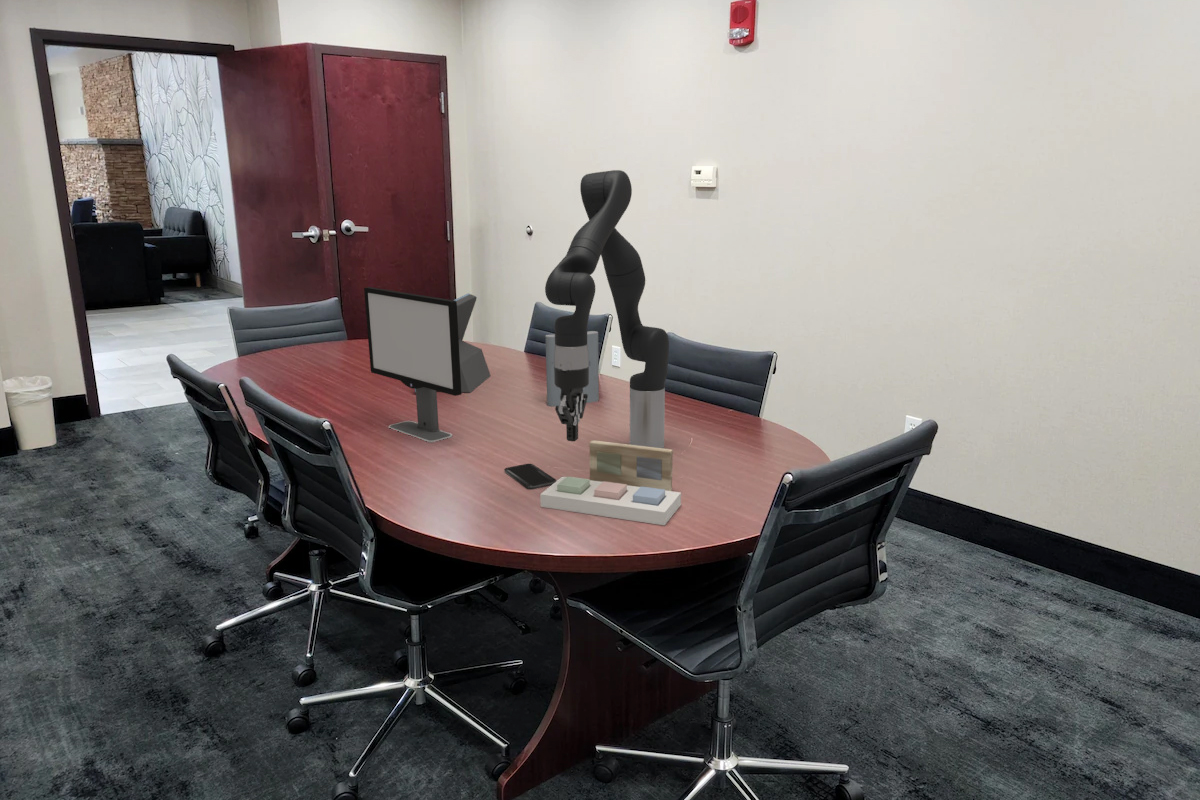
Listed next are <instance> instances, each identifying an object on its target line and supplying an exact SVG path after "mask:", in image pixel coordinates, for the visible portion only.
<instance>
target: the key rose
mask: <svg viewBox="0 0 1200 800" xmlns="http://www.w3.org/2000/svg"><path fill="white" fill-rule="evenodd" d="M626 492H627V484H620V483H613V482H605V481H603V482H602V483H601V484H600V485H599V486H598V487H597V488H596V489H595V490H594V497H600V498H607V499H614V500H620V499H621V498H622V497H623V496H624V495H625V494H626Z"/></svg>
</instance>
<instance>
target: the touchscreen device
mask: <svg viewBox="0 0 1200 800" xmlns="http://www.w3.org/2000/svg"><path fill="white" fill-rule="evenodd" d="M453 300H454V301H456V302H457V318H458V337H459V356H460V375H461V393H467V394H469V393H472V392H474V391H475V390H476V389H478V388H479V386H481V385H482V384H483V383H484V382H486V381H487V380H488V379H489V378H491V372H490V370H489V366H488V364H487V361H486V358H485V355H484V352H483V349H482V348H480V347H478V346H475V345H473V344H471V343H468V342H467V341H464V337H465V334H466V331H467V328H468V324H469V322H470V318H471V316H472V314H473V311H474V308H475V305H476V301H477V296H476V295H473V294H471V293H466V294H464V295H462V296H460V297H457V298H455V299H453ZM414 391H415V394H416V389H414Z"/></svg>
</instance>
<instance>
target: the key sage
mask: <svg viewBox="0 0 1200 800" xmlns="http://www.w3.org/2000/svg"><path fill="white" fill-rule="evenodd" d="M565 477H566V478H565V479H563V480H562V481H561V482H560V483H559V484H557V491H558V492H565V493H572V494H579V495H581V494H582V493H583V492H585V491H586V490H587V489H588V488H589V487H590V478H582V477H574V476H565Z"/></svg>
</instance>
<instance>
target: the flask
mask: <svg viewBox="0 0 1200 800" xmlns="http://www.w3.org/2000/svg"><path fill="white" fill-rule="evenodd" d="M587 347H588V354H589V384H588V386H586V387H584V388H583V394H587V395H588V398H587V402H586V404H589V403H591V404H592V403H595V402H599V400H600V396H599V393H600V391H599V390H600V389H599V388H600V387H599V385H600V382H599V380H600V379H599V332H598V331H595V330H591V331H588V330H587ZM554 351H555V333H553V334H546V335H545V366H546V367H545V369H546V371H545V372H546V375H545V376H546V378H545V379H546V406H548V407H556V406H560V404H561V402H560V395H561V389H560V388H559V387H557V386H556V385H555V381H554Z"/></svg>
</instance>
